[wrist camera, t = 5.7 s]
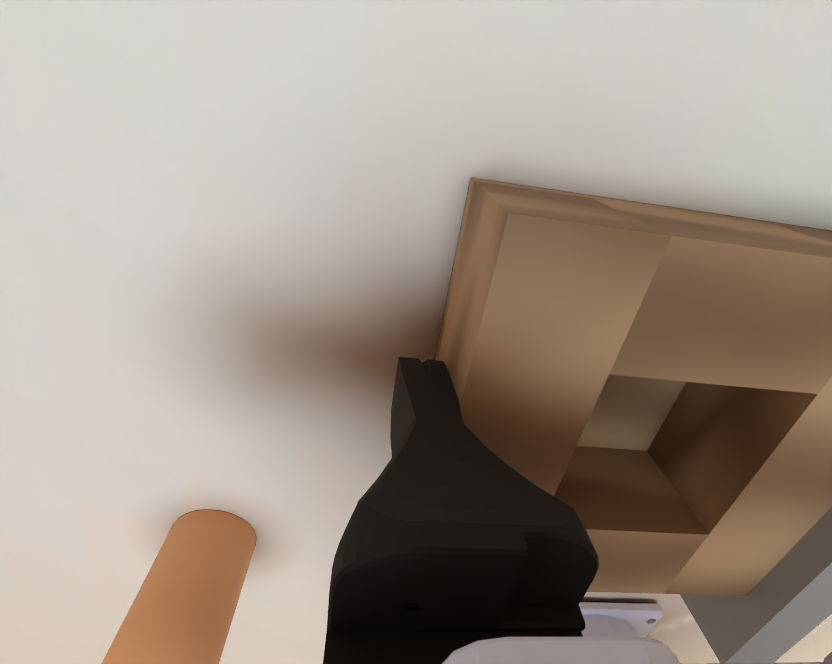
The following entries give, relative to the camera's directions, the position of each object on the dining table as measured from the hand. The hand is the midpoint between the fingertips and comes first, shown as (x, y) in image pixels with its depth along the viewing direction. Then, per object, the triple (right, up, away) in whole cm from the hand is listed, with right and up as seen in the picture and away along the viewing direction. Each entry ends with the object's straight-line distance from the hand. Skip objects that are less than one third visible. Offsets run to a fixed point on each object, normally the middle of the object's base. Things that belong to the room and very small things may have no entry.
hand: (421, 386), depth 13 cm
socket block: (+6, 0, +2) cm, 7 cm away
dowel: (-9, -7, +5) cm, 13 cm away
